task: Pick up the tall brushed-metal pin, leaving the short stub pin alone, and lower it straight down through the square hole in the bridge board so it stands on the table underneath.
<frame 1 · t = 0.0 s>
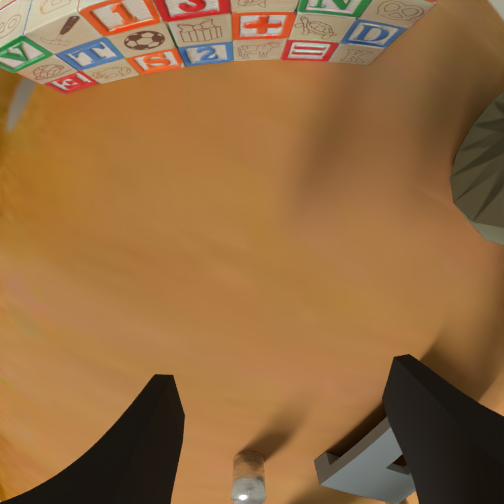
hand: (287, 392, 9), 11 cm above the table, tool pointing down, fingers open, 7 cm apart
bridge board: (401, 438, 23), on the table
long pin: (395, 499, 25), on the table
short pin: (248, 460, 23), on the table
stack of blocks: (208, 29, 17), on the table
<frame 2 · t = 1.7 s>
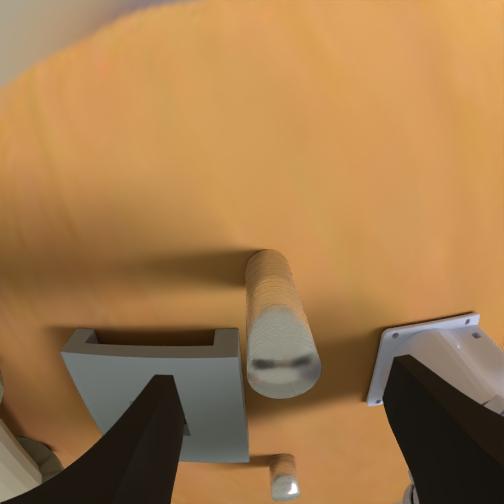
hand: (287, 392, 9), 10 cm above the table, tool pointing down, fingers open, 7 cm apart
bridge board: (167, 391, 22), on the table
spool: (9, 403, 24), on the table
long pin: (267, 270, 19), on the table
short pin: (281, 460, 26), on the table
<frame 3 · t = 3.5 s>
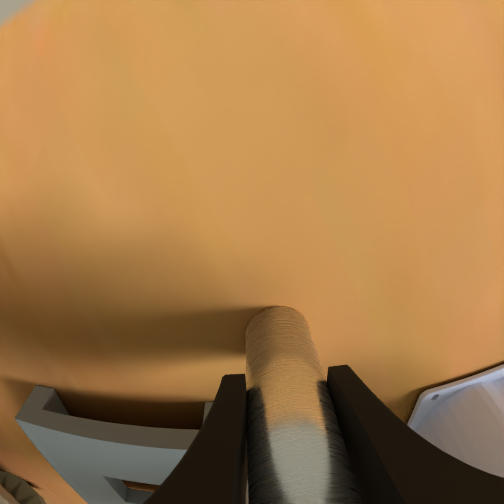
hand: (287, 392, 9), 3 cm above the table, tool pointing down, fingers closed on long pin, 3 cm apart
bridge board: (150, 458, 16), on the table
long pin: (277, 333, 12), on the table, touching gripper
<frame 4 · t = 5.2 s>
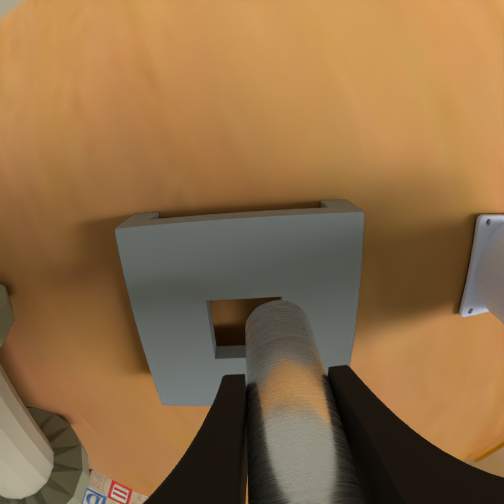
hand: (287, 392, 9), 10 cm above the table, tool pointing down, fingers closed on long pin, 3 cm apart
bridge board: (246, 302, 19), on the table
spool: (16, 359, 21), on the table
long pin: (277, 328, 12), point 6 cm above the table, touching gripper
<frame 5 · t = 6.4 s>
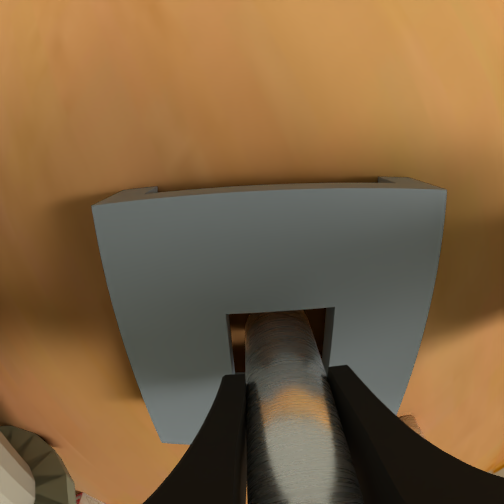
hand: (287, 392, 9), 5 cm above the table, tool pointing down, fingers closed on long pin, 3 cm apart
bridge board: (274, 312, 14), on the table
long pin: (277, 328, 12), point 2 cm above the table, touching gripper
short pin: (399, 426, 18), on the table
when the fingers open (4 cm above the table, at t = 7.3 s): long pin stays where it is, on the table.
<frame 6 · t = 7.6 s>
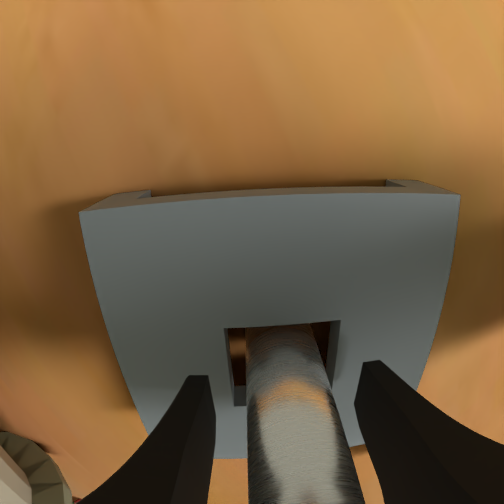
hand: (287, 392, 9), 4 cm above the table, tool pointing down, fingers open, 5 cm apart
bridge board: (275, 323, 13), on the table
long pin: (275, 318, 13), on the table
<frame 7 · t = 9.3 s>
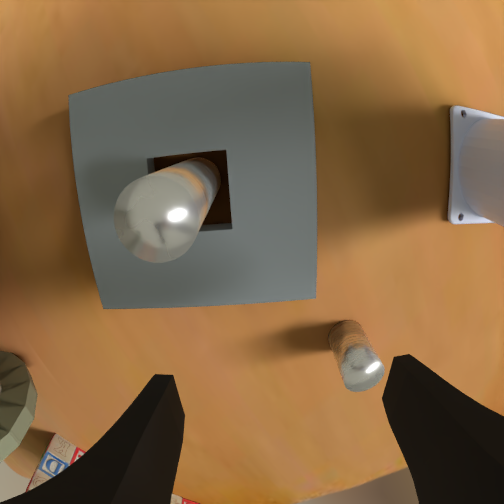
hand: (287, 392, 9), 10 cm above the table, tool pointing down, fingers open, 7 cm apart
bridge board: (198, 184, 17), on the table
long pin: (197, 180, 17), on the table
short pin: (345, 335, 21), on the table
stack of blocks: (122, 479, 29), on the table
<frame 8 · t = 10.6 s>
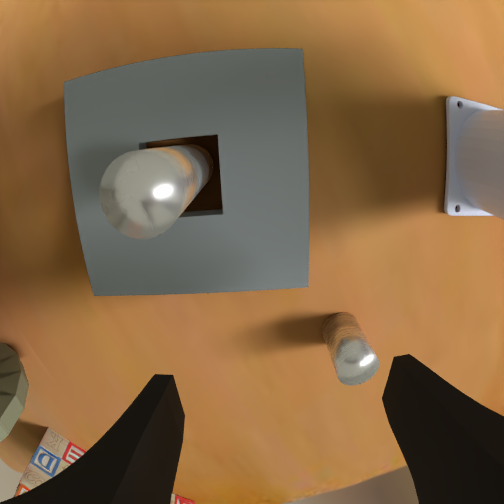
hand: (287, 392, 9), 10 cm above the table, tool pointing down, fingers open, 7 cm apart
bridge board: (190, 171, 17), on the table
long pin: (190, 167, 17), on the table
short pin: (339, 328, 21), on the table
stack of blocks: (115, 475, 29), on the table
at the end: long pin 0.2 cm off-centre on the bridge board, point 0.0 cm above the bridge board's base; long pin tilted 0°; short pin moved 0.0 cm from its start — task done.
